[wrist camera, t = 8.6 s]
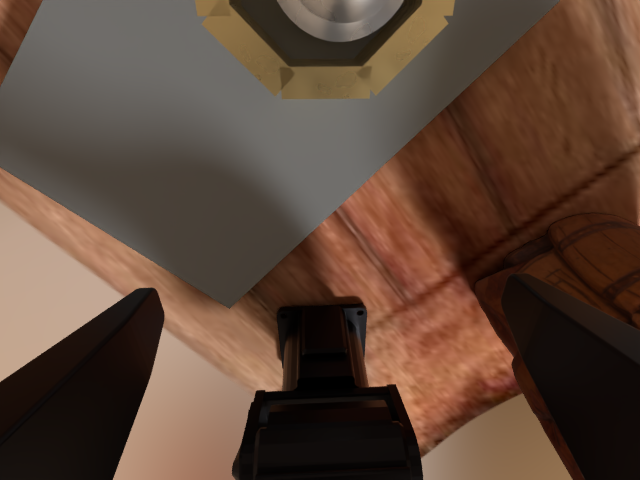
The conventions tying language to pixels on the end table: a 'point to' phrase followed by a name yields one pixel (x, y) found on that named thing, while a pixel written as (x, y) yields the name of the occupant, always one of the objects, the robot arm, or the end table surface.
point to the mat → (216, 127)
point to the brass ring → (326, 74)
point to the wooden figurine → (571, 289)
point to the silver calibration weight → (340, 17)
